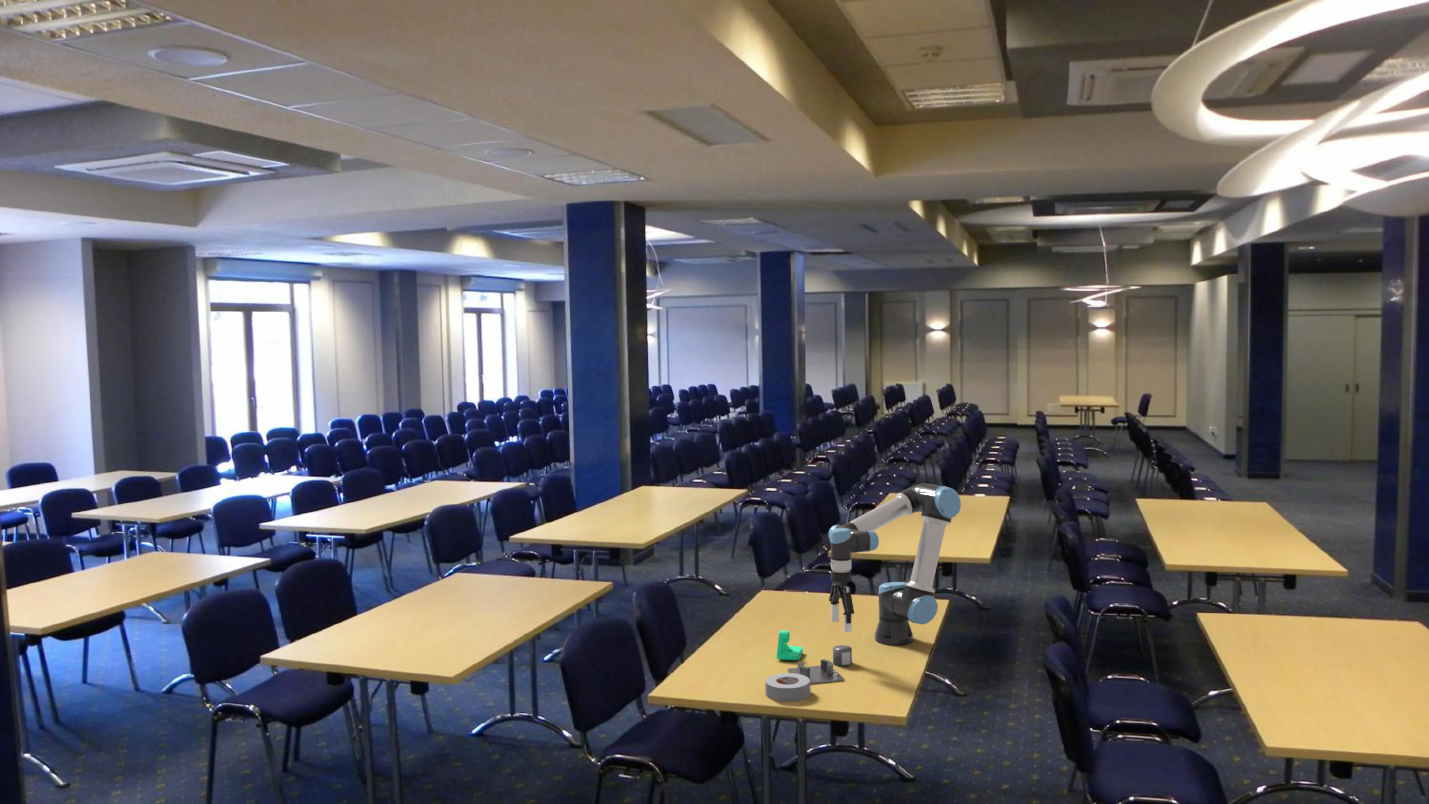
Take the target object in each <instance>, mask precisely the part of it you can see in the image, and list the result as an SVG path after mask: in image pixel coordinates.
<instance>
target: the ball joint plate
mask: <svg viewBox="0 0 1429 804" xmlns="http://www.w3.org/2000/svg"><path fill="white" fill-rule="evenodd" d="M804 662H805V661H799V662H798V663H797V667H791V668H787V673H795V674H801V675H804V676H806V677H808V678H809V679H810V685H817V684H825V683H834V682H835V683H836V682H844V681H845V678H844V677H843V675H841V674H840V673H839V672H838V671H836V670H835V668H834V664H833V661H830V660H828V659H826V658H825V659H824V658H823V659H821V660H820V665H813V666H805V665H804V664H805V663H804Z"/></svg>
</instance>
